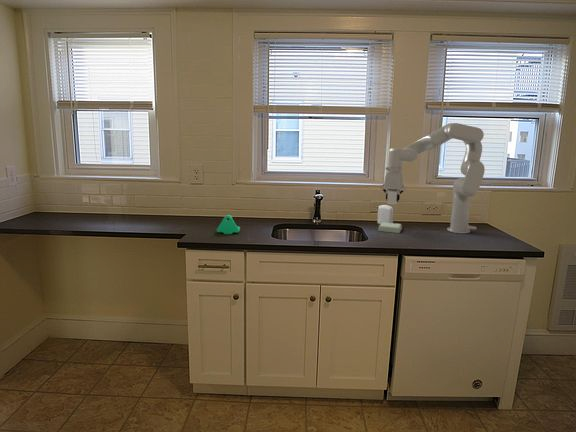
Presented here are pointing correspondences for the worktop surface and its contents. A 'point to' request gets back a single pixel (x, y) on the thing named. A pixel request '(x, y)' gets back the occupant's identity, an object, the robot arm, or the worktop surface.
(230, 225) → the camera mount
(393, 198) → the housing
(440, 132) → the robot arm
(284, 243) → the worktop surface
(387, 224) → the stand
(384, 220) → the photo printer
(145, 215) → the worktop surface
